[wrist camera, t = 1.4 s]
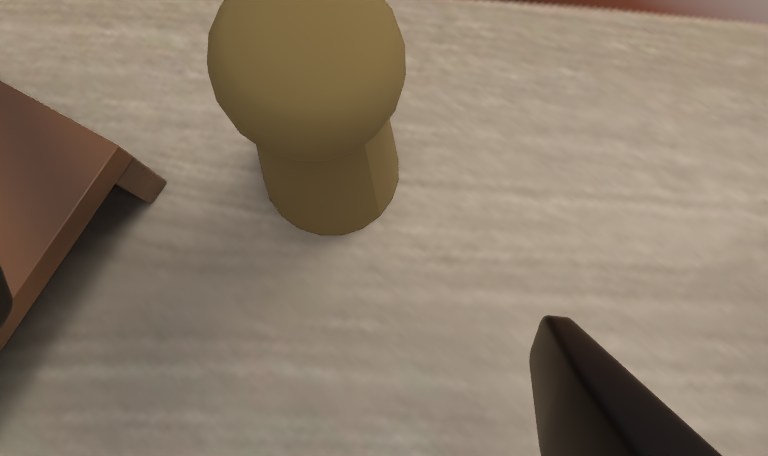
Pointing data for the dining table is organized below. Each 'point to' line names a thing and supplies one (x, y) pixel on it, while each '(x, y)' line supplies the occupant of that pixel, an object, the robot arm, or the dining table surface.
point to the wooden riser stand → (52, 192)
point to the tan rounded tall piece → (314, 102)
